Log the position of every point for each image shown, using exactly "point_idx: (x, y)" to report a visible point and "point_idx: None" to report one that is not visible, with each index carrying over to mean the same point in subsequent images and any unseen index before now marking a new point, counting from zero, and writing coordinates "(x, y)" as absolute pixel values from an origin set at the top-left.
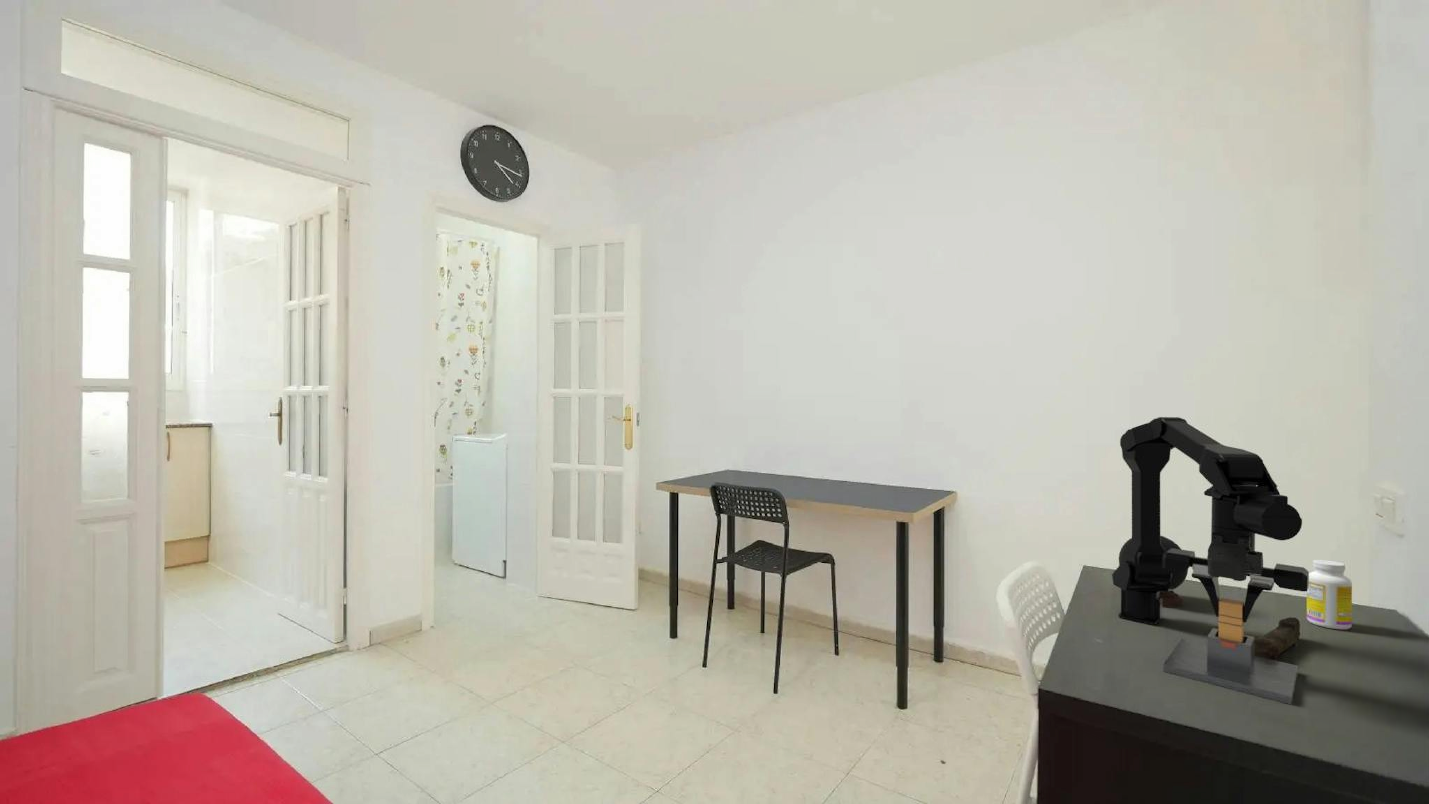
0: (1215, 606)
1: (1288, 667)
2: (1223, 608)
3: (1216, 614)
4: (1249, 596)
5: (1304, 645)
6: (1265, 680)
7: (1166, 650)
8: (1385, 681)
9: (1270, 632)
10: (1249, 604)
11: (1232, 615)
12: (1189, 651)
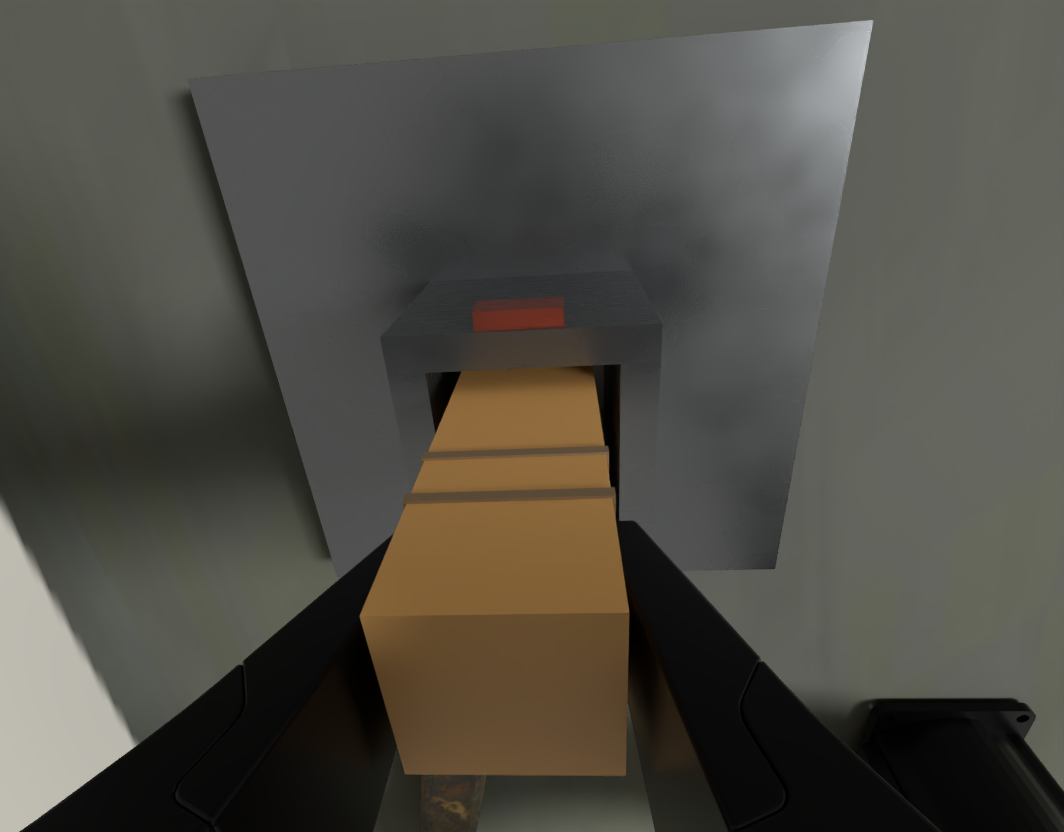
0: (659, 580)
1: (352, 530)
2: (570, 546)
3: (636, 528)
4: (190, 780)
5: (416, 803)
6: (357, 258)
7: (826, 436)
8: (161, 664)
9: (471, 786)
10: (274, 662)
11: (486, 508)
12: (731, 420)
